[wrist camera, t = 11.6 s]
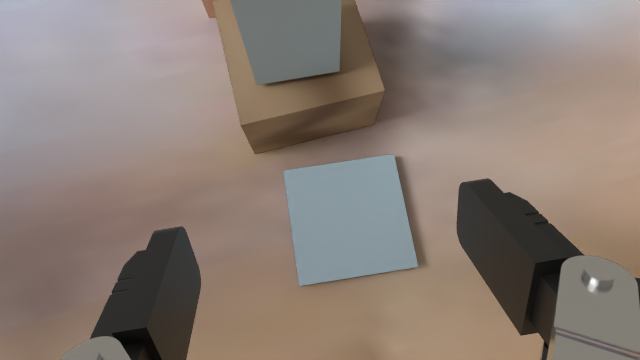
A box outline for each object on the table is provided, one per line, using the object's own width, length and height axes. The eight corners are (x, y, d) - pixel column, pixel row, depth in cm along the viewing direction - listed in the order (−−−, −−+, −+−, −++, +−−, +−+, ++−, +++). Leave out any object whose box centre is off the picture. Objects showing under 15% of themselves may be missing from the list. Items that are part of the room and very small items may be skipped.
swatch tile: (299, 286, 24) (298, 286, 23) (283, 173, 25) (283, 170, 25) (415, 267, 24) (418, 266, 23) (392, 157, 26) (393, 154, 25)
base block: (255, 155, 26) (240, 125, 21) (231, 50, 28) (212, 1, 23) (373, 126, 27) (385, 90, 22) (341, 25, 29) (345, -28, 24)
